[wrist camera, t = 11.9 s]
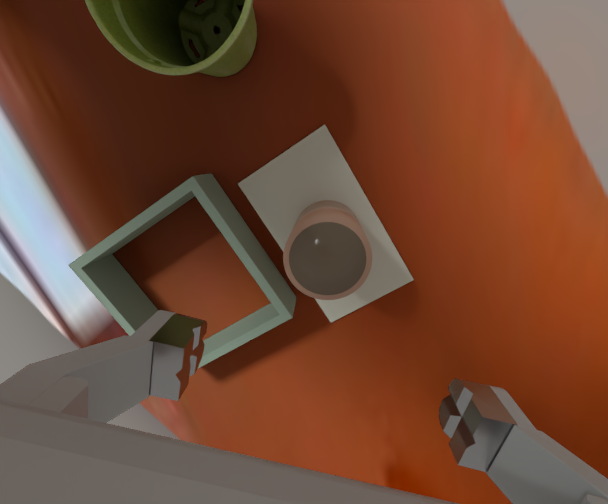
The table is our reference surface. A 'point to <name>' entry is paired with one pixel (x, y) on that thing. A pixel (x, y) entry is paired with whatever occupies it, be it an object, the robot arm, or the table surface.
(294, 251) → the seedling pot
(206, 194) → the frame
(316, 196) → the mat
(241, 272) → the table surface
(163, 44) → the plant pot
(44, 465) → the robot arm
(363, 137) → the table surface
